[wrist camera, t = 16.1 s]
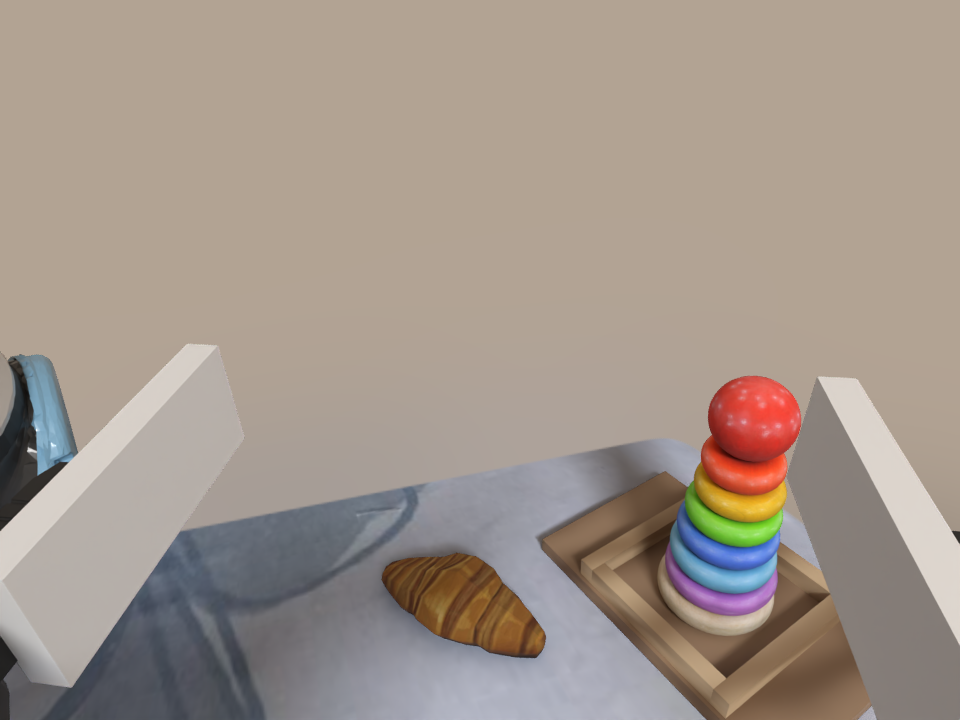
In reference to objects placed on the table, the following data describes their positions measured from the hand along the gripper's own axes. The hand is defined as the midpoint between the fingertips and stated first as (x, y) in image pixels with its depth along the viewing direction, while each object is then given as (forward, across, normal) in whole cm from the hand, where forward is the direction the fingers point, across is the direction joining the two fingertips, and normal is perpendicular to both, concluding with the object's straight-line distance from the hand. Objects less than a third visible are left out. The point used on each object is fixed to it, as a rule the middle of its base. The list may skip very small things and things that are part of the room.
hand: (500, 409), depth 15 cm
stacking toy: (+21, +13, -32) cm, 40 cm away
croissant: (+18, -5, -33) cm, 38 cm away
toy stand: (+21, +13, -33) cm, 41 cm away
